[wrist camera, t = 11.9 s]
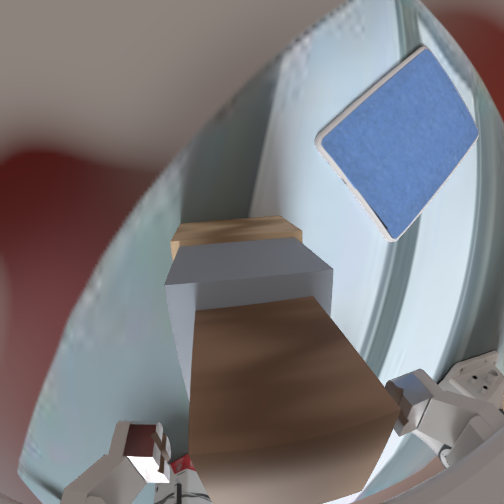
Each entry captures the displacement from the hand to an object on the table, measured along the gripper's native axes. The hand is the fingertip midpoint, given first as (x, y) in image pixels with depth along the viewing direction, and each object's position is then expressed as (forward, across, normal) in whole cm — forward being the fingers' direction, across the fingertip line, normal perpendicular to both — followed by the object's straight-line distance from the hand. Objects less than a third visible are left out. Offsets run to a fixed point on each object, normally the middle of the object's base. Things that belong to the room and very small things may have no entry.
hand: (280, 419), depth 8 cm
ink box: (+16, +11, +30) cm, 36 cm away
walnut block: (+4, 0, 0) cm, 4 cm away
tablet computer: (+17, -18, -11) cm, 27 cm away
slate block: (+10, 0, 0) cm, 10 cm away
